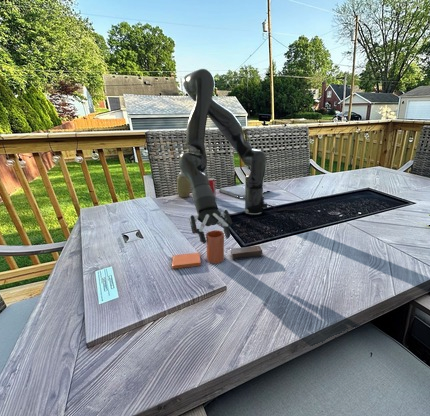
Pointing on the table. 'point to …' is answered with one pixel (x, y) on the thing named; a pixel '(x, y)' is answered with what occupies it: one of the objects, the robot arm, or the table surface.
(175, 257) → the orange rectangular slab
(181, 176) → the squeeze bottle
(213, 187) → the soda can
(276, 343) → the table surface
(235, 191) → the notebook
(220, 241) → the pot
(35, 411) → the table surface
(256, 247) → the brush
